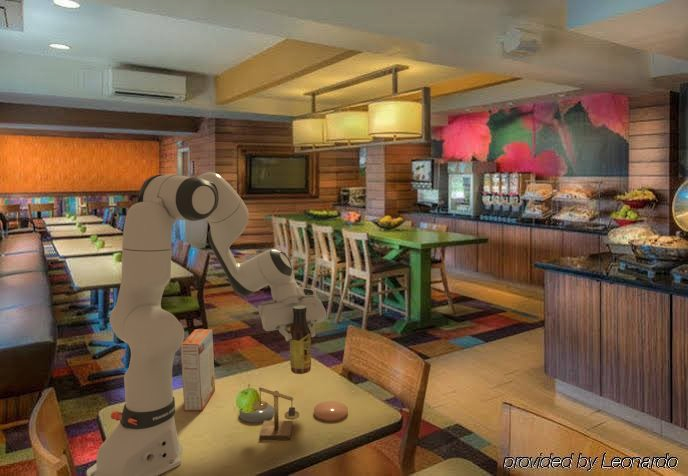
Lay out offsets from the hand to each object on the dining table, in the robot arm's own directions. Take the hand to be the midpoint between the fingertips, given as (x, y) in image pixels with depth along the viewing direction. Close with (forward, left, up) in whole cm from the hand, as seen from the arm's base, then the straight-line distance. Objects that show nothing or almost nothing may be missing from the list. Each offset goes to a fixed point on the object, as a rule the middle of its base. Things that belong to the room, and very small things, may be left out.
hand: (301, 338), depth 157 cm
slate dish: (-12, +8, -21) cm, 25 cm away
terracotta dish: (0, -10, -21) cm, 24 cm away
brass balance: (-17, -3, -21) cm, 27 cm away
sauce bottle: (0, +1, -11) cm, 11 cm away
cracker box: (-14, +29, -21) cm, 38 cm away
